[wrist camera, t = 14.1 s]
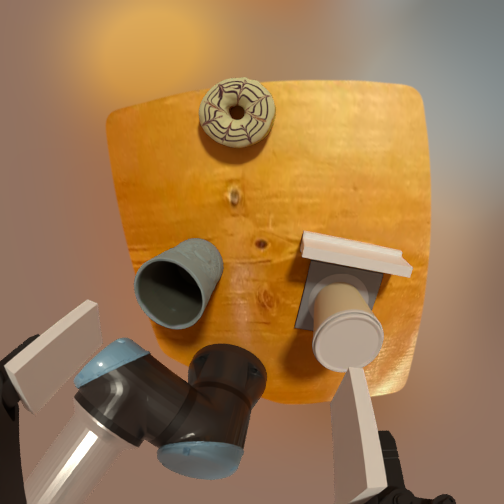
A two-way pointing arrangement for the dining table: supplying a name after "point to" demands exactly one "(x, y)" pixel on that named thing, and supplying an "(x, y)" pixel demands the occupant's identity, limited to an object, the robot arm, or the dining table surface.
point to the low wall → (354, 254)
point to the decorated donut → (255, 117)
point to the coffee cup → (344, 328)
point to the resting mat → (330, 273)
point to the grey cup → (179, 283)
